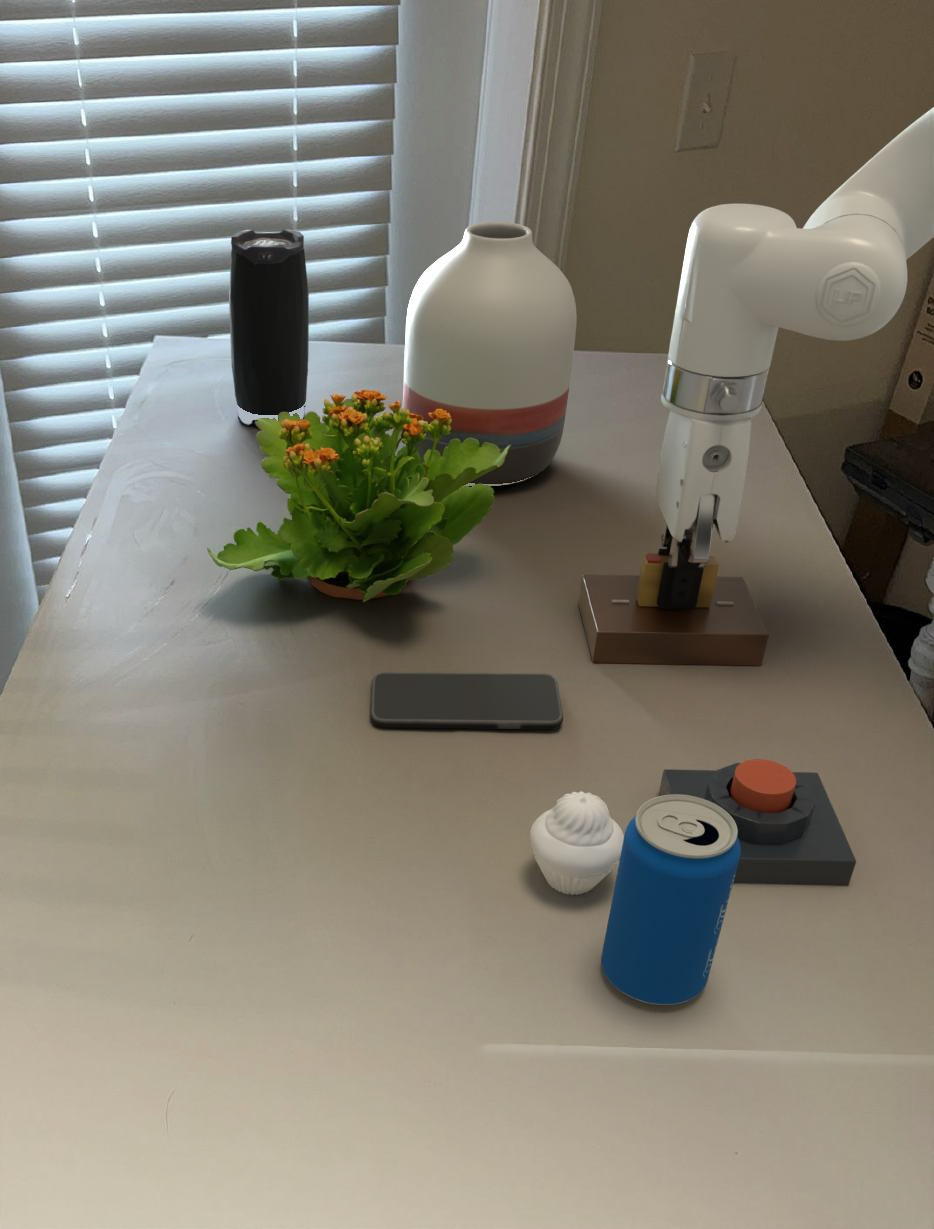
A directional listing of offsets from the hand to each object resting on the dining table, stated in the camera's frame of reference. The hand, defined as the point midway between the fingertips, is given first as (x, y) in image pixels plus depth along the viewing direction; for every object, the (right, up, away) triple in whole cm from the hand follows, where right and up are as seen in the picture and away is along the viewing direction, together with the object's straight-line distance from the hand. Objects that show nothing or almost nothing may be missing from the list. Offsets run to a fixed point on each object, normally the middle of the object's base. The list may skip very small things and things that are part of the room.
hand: (673, 598), depth 113 cm
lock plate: (0, -3, +2) cm, 3 cm away
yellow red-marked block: (0, 0, 0) cm, 0 cm away
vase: (-13, +19, +30) cm, 38 cm away
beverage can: (-10, -29, -30) cm, 43 cm away
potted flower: (-26, +4, +11) cm, 28 cm away
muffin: (-13, -23, -23) cm, 35 cm away
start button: (0, -17, -22) cm, 28 cm away
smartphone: (-18, -10, -7) cm, 22 cm away
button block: (0, -20, -20) cm, 28 cm away
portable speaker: (-35, +28, +41) cm, 61 cm away
